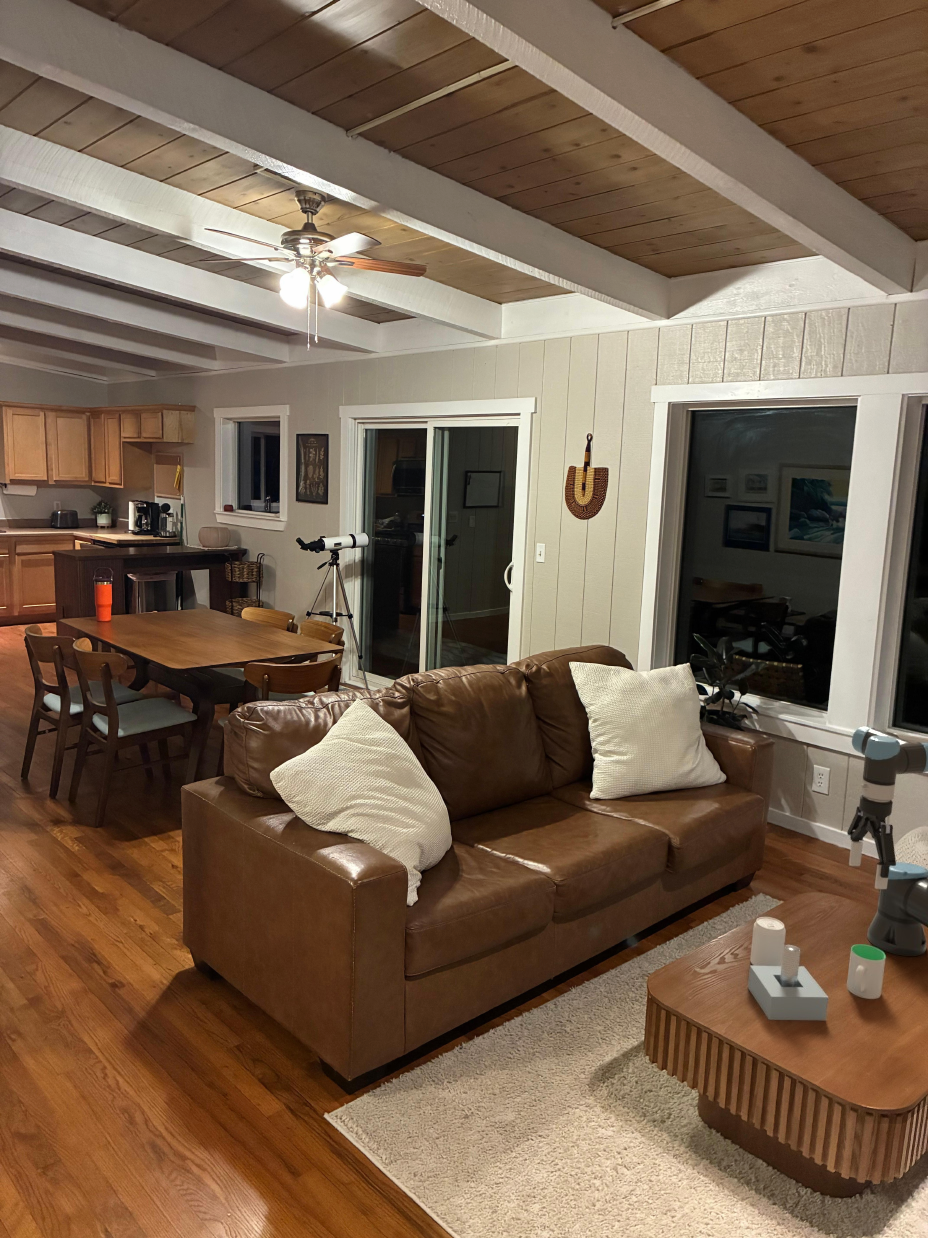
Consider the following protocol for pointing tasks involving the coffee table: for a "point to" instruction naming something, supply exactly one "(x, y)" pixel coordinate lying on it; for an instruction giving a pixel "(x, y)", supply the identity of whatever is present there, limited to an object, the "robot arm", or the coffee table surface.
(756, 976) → the socket block
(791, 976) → the peg
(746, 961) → the coffee table surface
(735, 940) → the coffee table surface
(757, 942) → the beverage can
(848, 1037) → the coffee table surface
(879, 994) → the mug
